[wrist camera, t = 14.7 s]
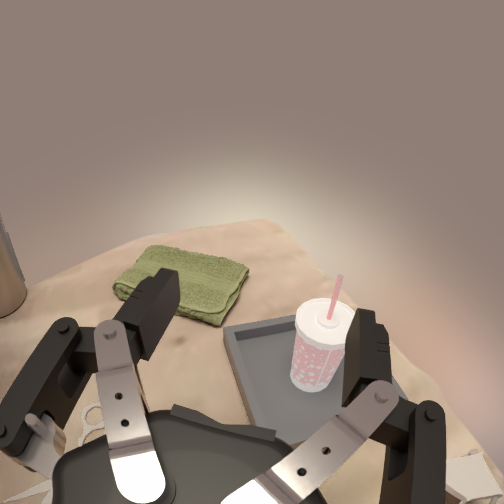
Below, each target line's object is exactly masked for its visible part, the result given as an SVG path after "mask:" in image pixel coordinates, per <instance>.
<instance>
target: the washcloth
mask: <svg viewBox="0 0 504 504" xmlns="http://www.w3.org/2000/svg"><path fill="white" fill-rule="evenodd" d="M162 267H163V268H167V269H172V270H176V271H178V274H179V285H180V303H179V307H178V309H177V311H176V312H175V315H182V316H188V317H189V318H192V319H201V320H202V321H203V322H209V323H211V324H213V325H218V326H221V322H222V320H223V318H224V316H225V315H226V313H227V312H228V310H229V309H230V307H231V306H232V305H233V303H234V302H235V300H236V298H237V297H238V294H239V291H240V287H241V285H242V283H243V281H244V279H245V278H246V276H247V275H248V273H249V268H247V267H245V266H244V265H243V264H240V263H236V262H234V261H232V260H228V259H227V258H223V257H216V256H209V255H205V254H204V255H203V254H202V253H201V254H198V253H193V252H188V251H185V250H180V249H178V248H173V247H166V246H162V245H152V246H150V247H148V248H147V249H146V250H145V252H144V253H143V254H142V255H141V256H140V258H139V259H137V260H136V264H135V265H134V266H133V267H132V268H131V269H128V270H126V271H125V272H124V273H123V274H122V275H121V276H119V277H118V278H117V280H115V282H114V284H113V291H114V292H115V294H116V295H118V297H119V298H120V299H123V300H127V299H128V297H130V295H131V293H132V292H133V291H134V289H135V288H136V286H137V285H138V284H139V282H140V281H142V280H143V279H145V278H146V277H148V276H152V277H154V276H155V275H156V273H157V272H158V270H159V269H160V268H162Z"/></svg>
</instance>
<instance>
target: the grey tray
mask: <svg viewBox="0 0 504 504" xmlns="http://www.w3.org/2000/svg"><path fill="white" fill-rule="evenodd" d="M295 319H296V315H291V316H285V317H280V318H275V319H269V320H264V321H258V322H252V323H246V324H240V325H234V326H228V327H223V341H224V344H225V348H226V351H227V354H228V357H229V360H230V363H231V367H232V370H233V373H234V376H235V379H236V382H237V385H238V388H239V391H240V394H241V397H242V400H243V403H244V406H245V409H246V412H247V415H248V417H249V420H250V423H251V425H254V426H258V427H263V428H268V429H273V430H277V431H276V435H275V437H277V438H280V439H281V440H283V441H285V442H286V443H287V444H289V445H290V446H291V447H292V448H293V449H294V450H295V449H296V448H298V447H299V446H300V445H301V444H302V443H304V442H305V441H306V440H307V439H308V438H310V437H311V436H312V435H313V434H314V433H316V432H317V431H318V430H319V429H320V428H321V427H322V426H324V425H325V424H326V423H327V422H328V421H329V420H330V419H331V418H333V417H334V416H335V415H339V414H340V413H341V412H342V411H343V410H344V409H345V407H341V405H342V391H343V375H344V356H343V358H342V360H341V362H340V364H339V366H338V368H337V370H336V372H335V373H334V375H333V377H332V379H331V381H330V382H329V384H328V385H327V387H326V388H324V389H323V390H321V391H318V392H313V393H312V392H305V391H303V390H301V389H299V388H297V387H296V386H295V385H294V384H293V382H292V380H291V377H290V372H291V366H292V359H293V352H294V345H295V338H296V327H295ZM344 355H345V354H344ZM392 384H393V386H394V387H395V388H396V389H397V391H398V394H399V396H401V397H402V398H404V399H406V400H408V398H407V397H406V395H405V394H404V392H403V391H402V389H401V388H400V386H399V385H398V383H397V382H396V380H395V379H394V377H393V376H392Z"/></svg>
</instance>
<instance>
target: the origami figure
mask: <svg viewBox="0 0 504 504" xmlns="http://www.w3.org/2000/svg"><path fill="white" fill-rule="evenodd" d="M483 452H484V451H482V452H480V453H478V450H477V449H473V450H470V451H469V452H468V454H467V455H466V456H464V457H458V458H451V459H446V488H445V490H446V491H447V492H449V493H450V494H452V495H453V496H455V497H456V498H458V499H460V500H461V502H460V503H459V504H466V502H469V501H475V500H481V499H487V498H491V501H490V503H489V504H496V502H497V501H498V499H499V498H500V497H502V496H503V493H502V491H501V489H500V487H499V485H498V484H497V482H496V480H495V479H494V477H493V476H492V474H491V472H490V470H489V468H488V466H487V464H486V462H485V460H484V459H483V457H482V455H483Z"/></svg>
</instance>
